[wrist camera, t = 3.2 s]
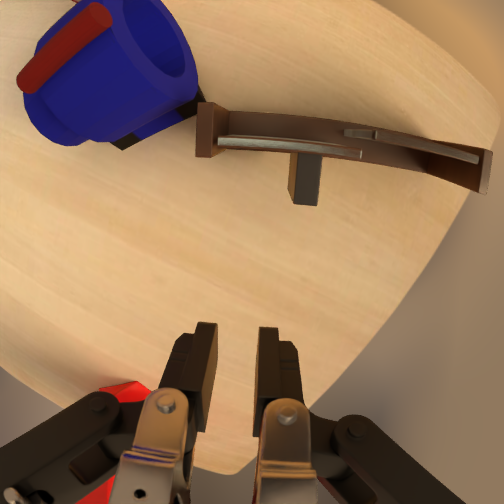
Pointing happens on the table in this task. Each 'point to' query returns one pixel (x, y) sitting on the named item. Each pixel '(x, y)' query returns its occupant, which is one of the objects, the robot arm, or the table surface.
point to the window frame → (349, 143)
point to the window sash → (296, 160)
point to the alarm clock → (110, 74)
